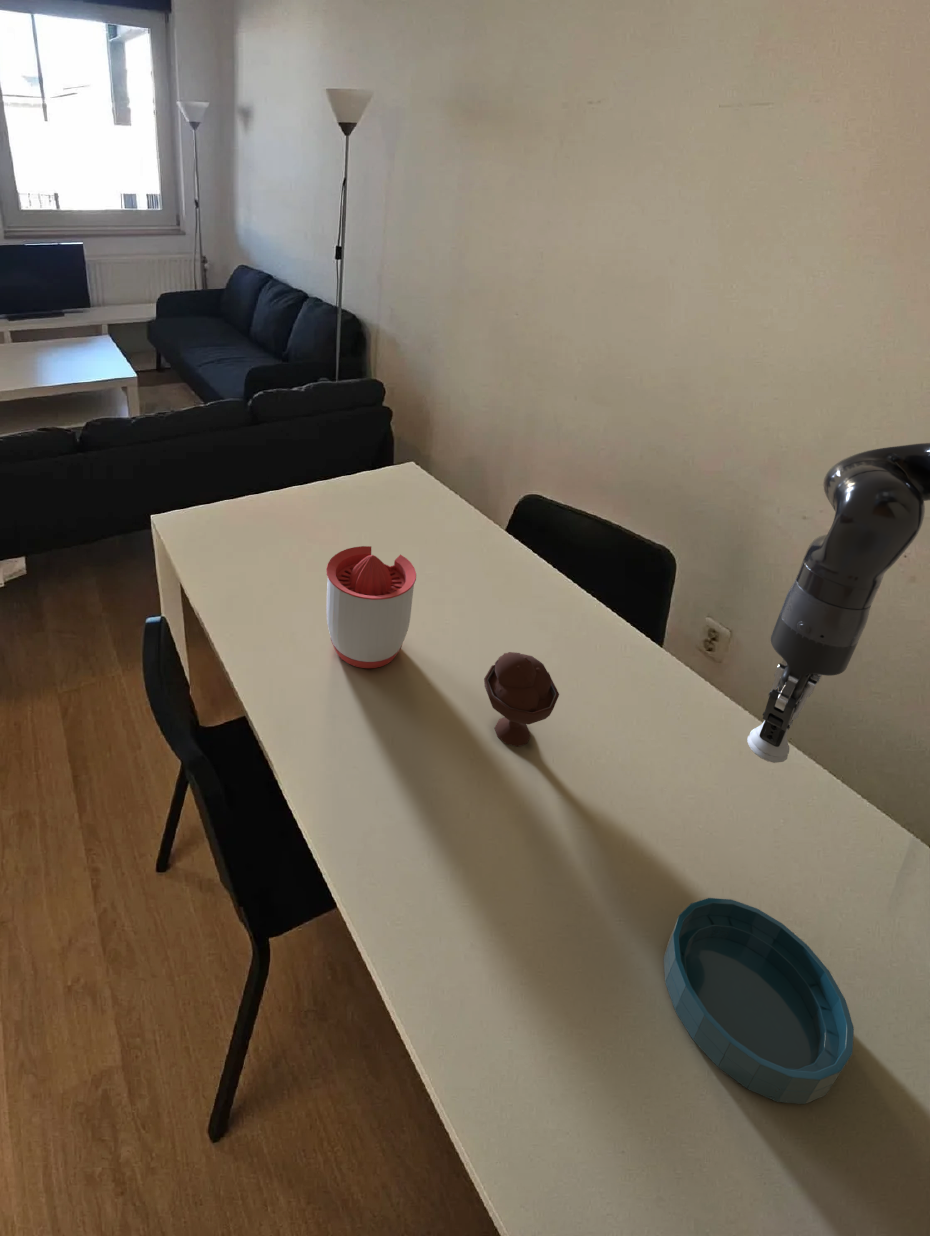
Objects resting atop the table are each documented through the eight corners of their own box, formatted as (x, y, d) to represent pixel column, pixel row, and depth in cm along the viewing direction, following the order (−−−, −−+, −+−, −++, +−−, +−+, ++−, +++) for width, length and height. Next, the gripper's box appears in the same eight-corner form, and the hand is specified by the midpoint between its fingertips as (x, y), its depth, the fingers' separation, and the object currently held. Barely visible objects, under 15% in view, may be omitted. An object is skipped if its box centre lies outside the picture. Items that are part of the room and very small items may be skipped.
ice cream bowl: (521, 774, 96) (538, 697, 90) (463, 726, 104) (474, 652, 98) (562, 738, 102) (579, 663, 96) (503, 695, 110) (517, 624, 104)
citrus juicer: (422, 629, 125) (432, 540, 117) (391, 690, 110) (400, 593, 102) (347, 605, 131) (352, 519, 123) (308, 660, 116) (311, 566, 108)
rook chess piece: (753, 730, 86) (771, 683, 83) (791, 752, 83) (812, 705, 79) (740, 748, 83) (758, 700, 80) (779, 771, 80) (800, 723, 77)
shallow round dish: (778, 930, 77) (791, 903, 75) (875, 1113, 63) (894, 1086, 61) (640, 919, 78) (650, 892, 76) (704, 1098, 63) (718, 1071, 61)
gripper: (843, 669, 68) (791, 785, 75) (873, 613, 77) (824, 722, 84) (763, 632, 73) (721, 744, 80) (799, 583, 82) (759, 688, 89)
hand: (774, 732), depth 82 cm, fingers closed on rook chess piece, 3 cm apart
